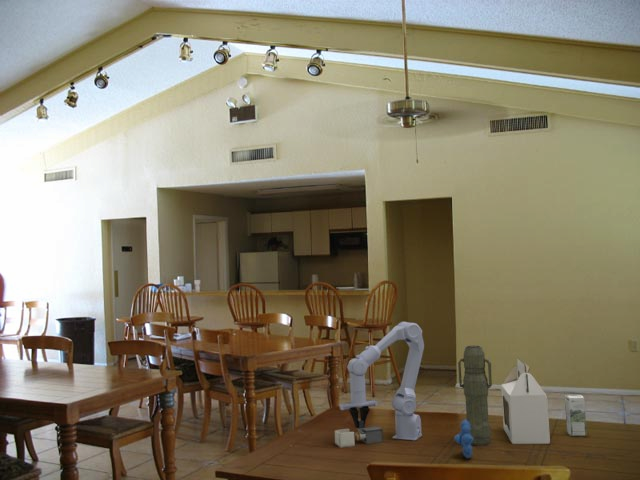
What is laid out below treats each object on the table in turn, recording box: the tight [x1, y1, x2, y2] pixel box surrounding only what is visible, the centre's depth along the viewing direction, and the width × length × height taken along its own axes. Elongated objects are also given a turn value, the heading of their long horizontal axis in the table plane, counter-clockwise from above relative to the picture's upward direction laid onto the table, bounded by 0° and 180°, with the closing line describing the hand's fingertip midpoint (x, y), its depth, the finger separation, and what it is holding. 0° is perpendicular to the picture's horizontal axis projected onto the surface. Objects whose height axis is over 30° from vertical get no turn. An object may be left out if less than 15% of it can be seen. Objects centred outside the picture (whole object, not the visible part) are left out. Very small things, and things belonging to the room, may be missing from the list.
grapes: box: [453, 419, 474, 459], centre depth 216 cm, size 12×7×12 cm, turn 170°
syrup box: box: [564, 394, 588, 437], centre depth 237 cm, size 6×6×14 cm
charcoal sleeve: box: [361, 425, 384, 445], centre depth 240 cm, size 6×5×5 cm
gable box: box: [500, 358, 551, 445], centre depth 238 cm, size 22×13×28 cm, turn 172°
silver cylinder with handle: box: [354, 417, 366, 442], centre depth 239 cm, size 9×4×8 cm, turn 106°
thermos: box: [457, 345, 493, 446], centre depth 233 cm, size 9×12×35 cm
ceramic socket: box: [334, 428, 356, 448], centre depth 237 cm, size 6×6×5 cm
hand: (359, 427), depth 239 cm, fingers closed on silver cylinder with handle, 2 cm apart
